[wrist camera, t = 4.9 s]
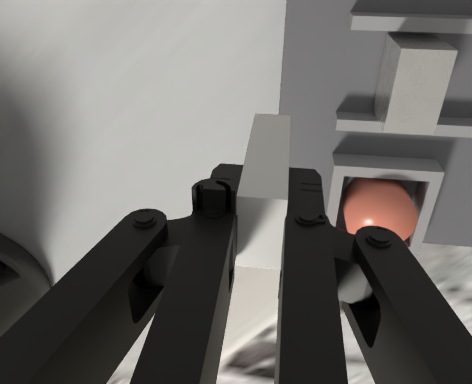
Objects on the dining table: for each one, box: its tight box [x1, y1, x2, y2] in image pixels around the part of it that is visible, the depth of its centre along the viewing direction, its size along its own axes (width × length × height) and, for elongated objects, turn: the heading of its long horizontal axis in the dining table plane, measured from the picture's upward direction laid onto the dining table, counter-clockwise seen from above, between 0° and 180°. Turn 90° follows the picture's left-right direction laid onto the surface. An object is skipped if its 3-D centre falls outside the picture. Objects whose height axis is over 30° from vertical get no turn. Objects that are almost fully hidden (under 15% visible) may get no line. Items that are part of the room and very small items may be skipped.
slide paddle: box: [373, 34, 458, 135], centre depth 26 cm, size 3×5×4 cm, turn 179°
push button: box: [342, 177, 417, 241], centre depth 32 cm, size 5×5×3 cm
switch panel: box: [279, 0, 472, 256], centre depth 27 cm, size 24×28×6 cm
